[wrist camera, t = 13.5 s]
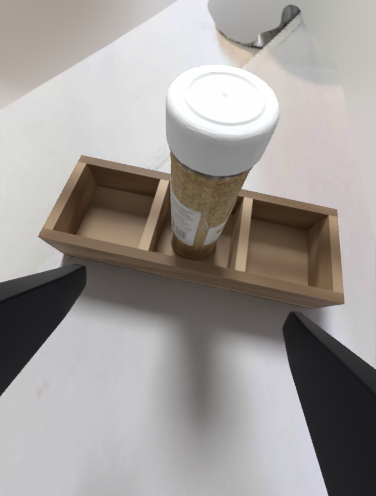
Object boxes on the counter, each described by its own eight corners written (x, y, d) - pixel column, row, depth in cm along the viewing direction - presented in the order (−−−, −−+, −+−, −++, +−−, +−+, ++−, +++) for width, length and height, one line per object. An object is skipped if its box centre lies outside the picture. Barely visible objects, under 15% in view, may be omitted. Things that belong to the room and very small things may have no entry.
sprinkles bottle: (221, 256, 20) (303, 133, 7) (174, 264, 19) (176, 145, 7) (210, 215, 21) (261, 56, 9) (166, 221, 21) (156, 60, 8)
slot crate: (311, 308, 19) (344, 303, 16) (63, 253, 20) (37, 236, 16) (309, 229, 22) (336, 209, 19) (96, 183, 23) (81, 155, 19)
